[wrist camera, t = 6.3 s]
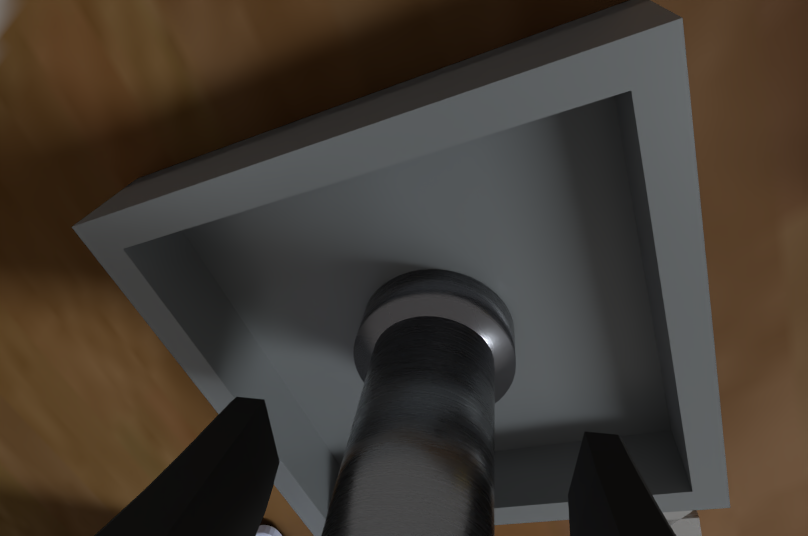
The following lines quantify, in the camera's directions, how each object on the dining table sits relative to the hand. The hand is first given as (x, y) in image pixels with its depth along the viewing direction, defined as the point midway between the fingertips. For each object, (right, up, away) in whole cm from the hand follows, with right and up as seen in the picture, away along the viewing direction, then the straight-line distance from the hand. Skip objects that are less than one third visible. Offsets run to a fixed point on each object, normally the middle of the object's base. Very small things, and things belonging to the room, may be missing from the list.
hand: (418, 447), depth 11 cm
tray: (+1, +2, +4) cm, 4 cm away
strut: (+1, +2, +3) cm, 4 cm away
